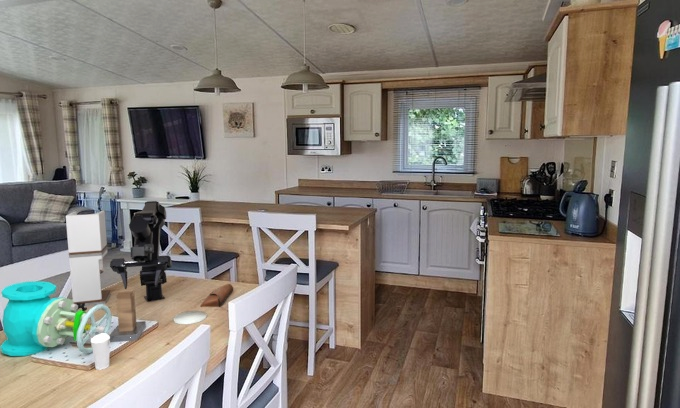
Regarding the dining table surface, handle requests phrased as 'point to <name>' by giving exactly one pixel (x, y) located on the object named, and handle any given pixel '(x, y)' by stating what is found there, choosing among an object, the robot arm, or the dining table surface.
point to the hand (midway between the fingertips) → (140, 287)
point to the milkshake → (101, 350)
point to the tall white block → (87, 257)
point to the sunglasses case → (217, 296)
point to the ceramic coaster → (190, 317)
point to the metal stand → (127, 333)
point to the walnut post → (126, 310)
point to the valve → (45, 319)
